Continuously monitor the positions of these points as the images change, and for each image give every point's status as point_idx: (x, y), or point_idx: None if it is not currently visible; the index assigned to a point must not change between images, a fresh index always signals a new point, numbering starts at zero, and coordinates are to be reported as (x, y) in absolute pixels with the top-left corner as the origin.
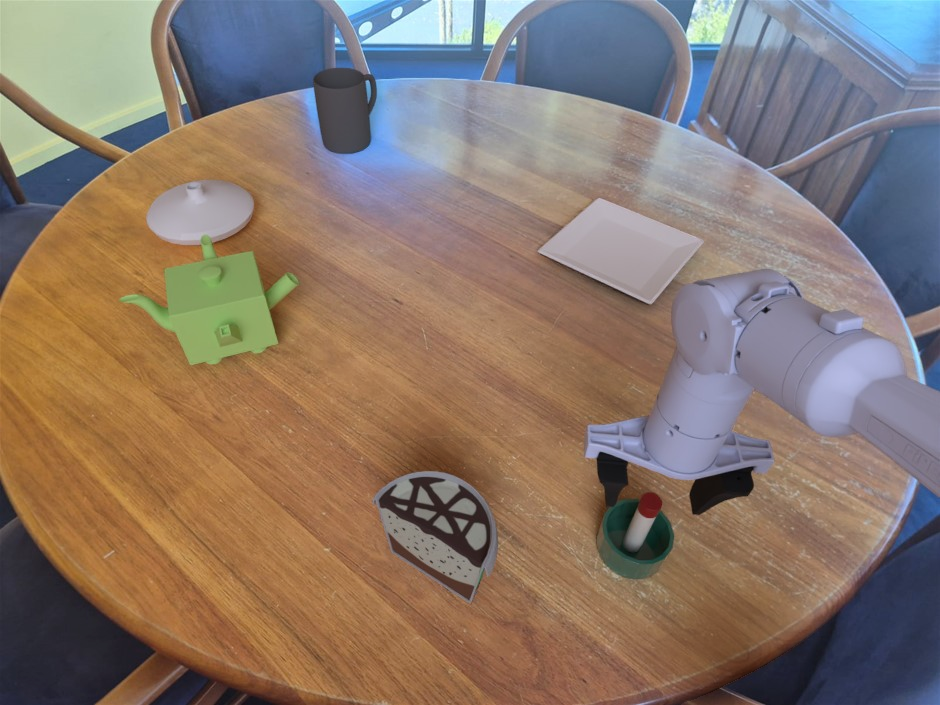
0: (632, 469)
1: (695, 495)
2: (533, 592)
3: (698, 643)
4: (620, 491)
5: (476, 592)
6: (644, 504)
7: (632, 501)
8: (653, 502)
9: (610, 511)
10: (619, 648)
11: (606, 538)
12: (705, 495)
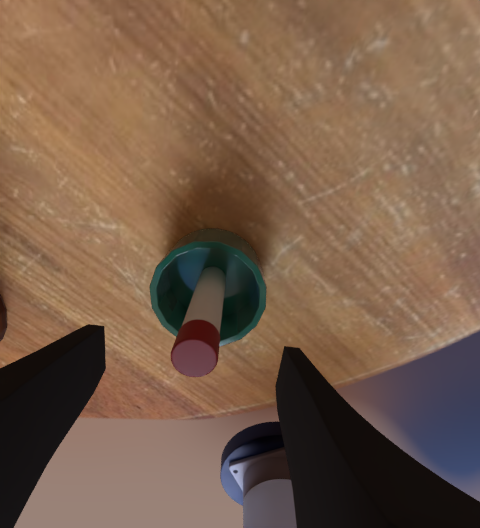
0: (246, 136)
1: (286, 390)
2: (79, 327)
3: (267, 381)
4: (33, 488)
5: (1, 332)
6: (176, 364)
7: (208, 247)
8: (196, 362)
9: (166, 265)
10: (179, 383)
11: (154, 308)
12: (295, 460)
